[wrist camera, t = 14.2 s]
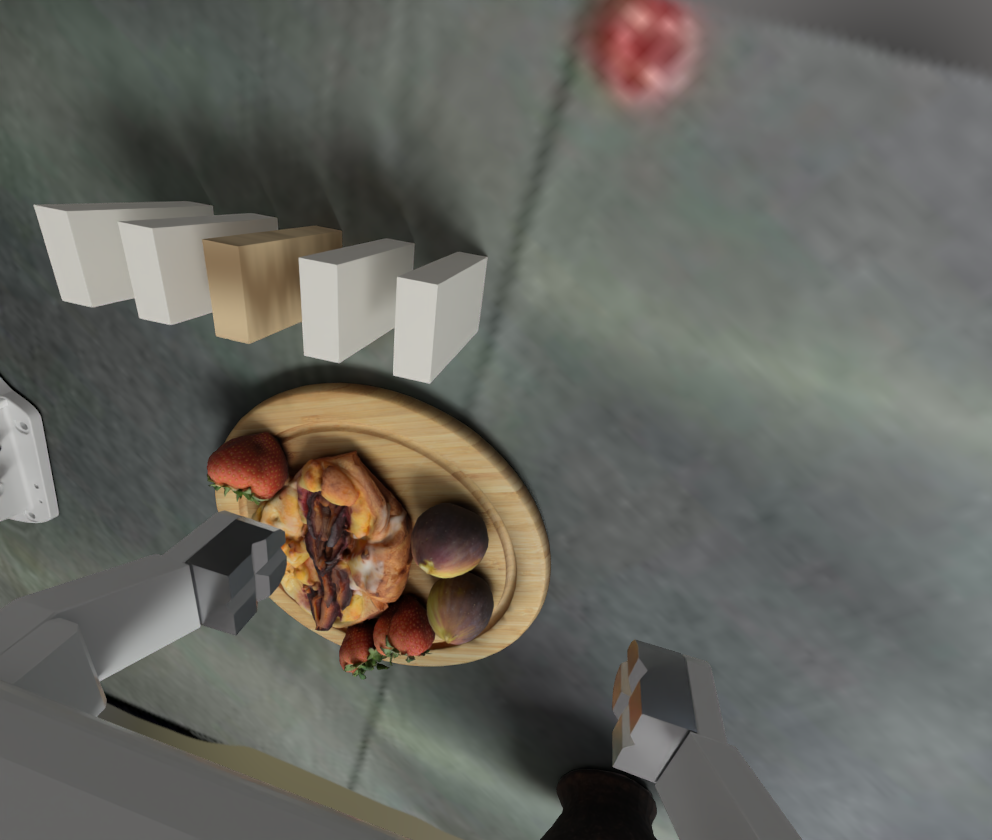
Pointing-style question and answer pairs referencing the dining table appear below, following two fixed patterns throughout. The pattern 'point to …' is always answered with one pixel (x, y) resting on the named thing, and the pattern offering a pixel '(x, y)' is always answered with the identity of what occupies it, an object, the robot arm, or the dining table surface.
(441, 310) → the domino
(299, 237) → the domino
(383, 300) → the domino
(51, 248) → the domino
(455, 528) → the wooden plate with food
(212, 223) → the domino
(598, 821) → the jug
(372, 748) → the dining table surface
